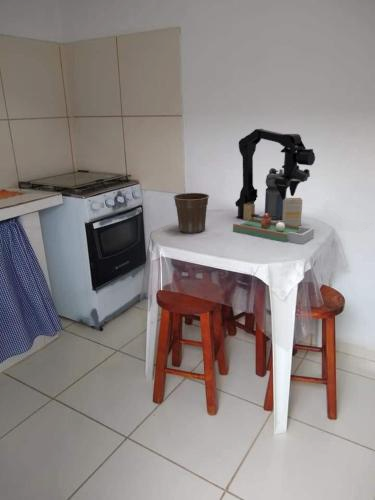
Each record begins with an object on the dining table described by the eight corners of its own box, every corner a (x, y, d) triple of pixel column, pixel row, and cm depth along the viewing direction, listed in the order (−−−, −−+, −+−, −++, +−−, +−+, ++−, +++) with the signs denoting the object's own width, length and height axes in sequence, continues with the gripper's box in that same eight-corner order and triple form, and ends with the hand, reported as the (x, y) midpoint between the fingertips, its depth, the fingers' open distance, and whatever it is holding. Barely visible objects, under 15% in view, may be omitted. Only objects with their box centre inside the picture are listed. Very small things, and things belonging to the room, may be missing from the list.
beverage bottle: (277, 213, 210) (280, 165, 201) (288, 219, 197) (292, 169, 189) (259, 214, 208) (261, 166, 199) (269, 221, 196) (272, 170, 187)
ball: (273, 231, 173) (274, 222, 171) (278, 229, 176) (278, 220, 174) (282, 232, 170) (282, 224, 169) (286, 230, 173) (286, 222, 172)
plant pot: (173, 225, 192) (172, 193, 186) (206, 224, 193) (206, 191, 188) (175, 235, 177) (174, 200, 171) (211, 234, 178) (211, 198, 172)
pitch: (232, 231, 181) (233, 223, 179) (249, 224, 191) (249, 216, 189) (300, 245, 161) (301, 235, 159) (314, 236, 171) (315, 227, 169)
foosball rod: (242, 224, 182) (242, 204, 179) (247, 222, 186) (248, 202, 182) (265, 228, 175) (266, 208, 171) (270, 226, 178) (271, 205, 175)
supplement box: (299, 224, 189) (301, 197, 185) (300, 227, 185) (302, 199, 181) (281, 224, 190) (283, 197, 186) (282, 227, 186) (284, 199, 181)
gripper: (298, 167, 164) (295, 204, 170) (316, 162, 178) (312, 196, 183) (274, 165, 171) (272, 200, 176) (293, 160, 184) (290, 193, 190)
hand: (287, 197), depth 181 cm, fingers open, 9 cm apart
